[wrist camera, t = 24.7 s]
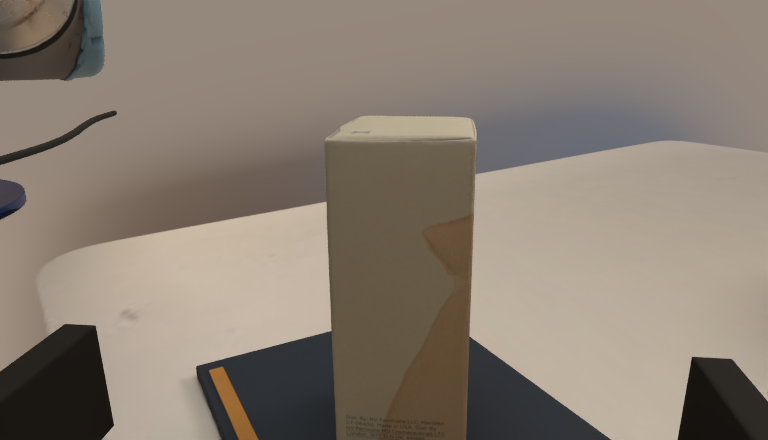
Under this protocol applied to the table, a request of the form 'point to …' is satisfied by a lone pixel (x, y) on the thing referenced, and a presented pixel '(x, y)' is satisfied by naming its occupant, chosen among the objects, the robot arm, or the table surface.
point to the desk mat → (317, 400)
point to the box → (401, 275)
